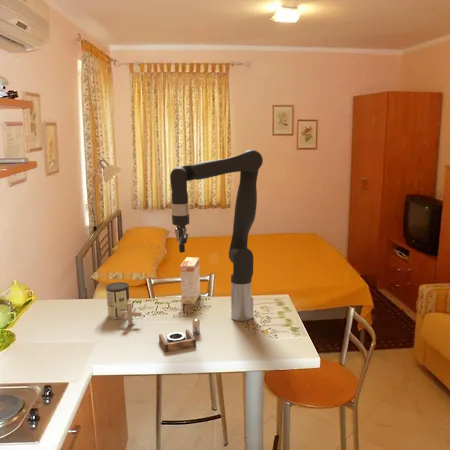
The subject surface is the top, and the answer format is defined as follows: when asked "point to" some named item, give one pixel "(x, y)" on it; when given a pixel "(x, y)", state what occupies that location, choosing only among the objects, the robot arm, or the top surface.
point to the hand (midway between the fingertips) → (181, 252)
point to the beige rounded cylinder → (196, 326)
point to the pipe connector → (129, 313)
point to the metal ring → (175, 337)
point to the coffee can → (117, 299)
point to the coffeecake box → (190, 280)
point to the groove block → (178, 343)
